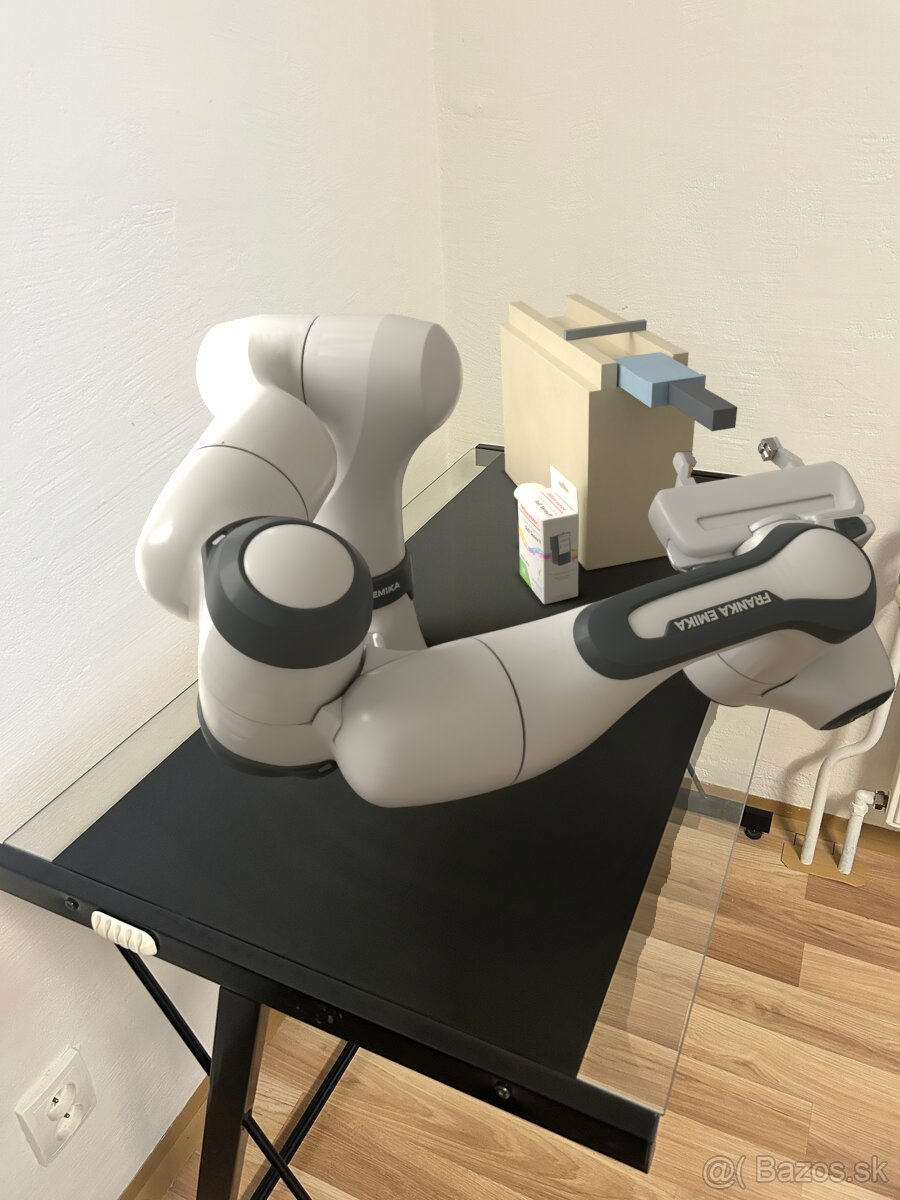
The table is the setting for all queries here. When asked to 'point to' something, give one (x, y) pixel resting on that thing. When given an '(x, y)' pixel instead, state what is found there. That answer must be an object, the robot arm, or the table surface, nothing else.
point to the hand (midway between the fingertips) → (723, 448)
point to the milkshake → (525, 488)
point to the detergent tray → (674, 389)
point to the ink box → (550, 539)
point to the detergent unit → (590, 423)
